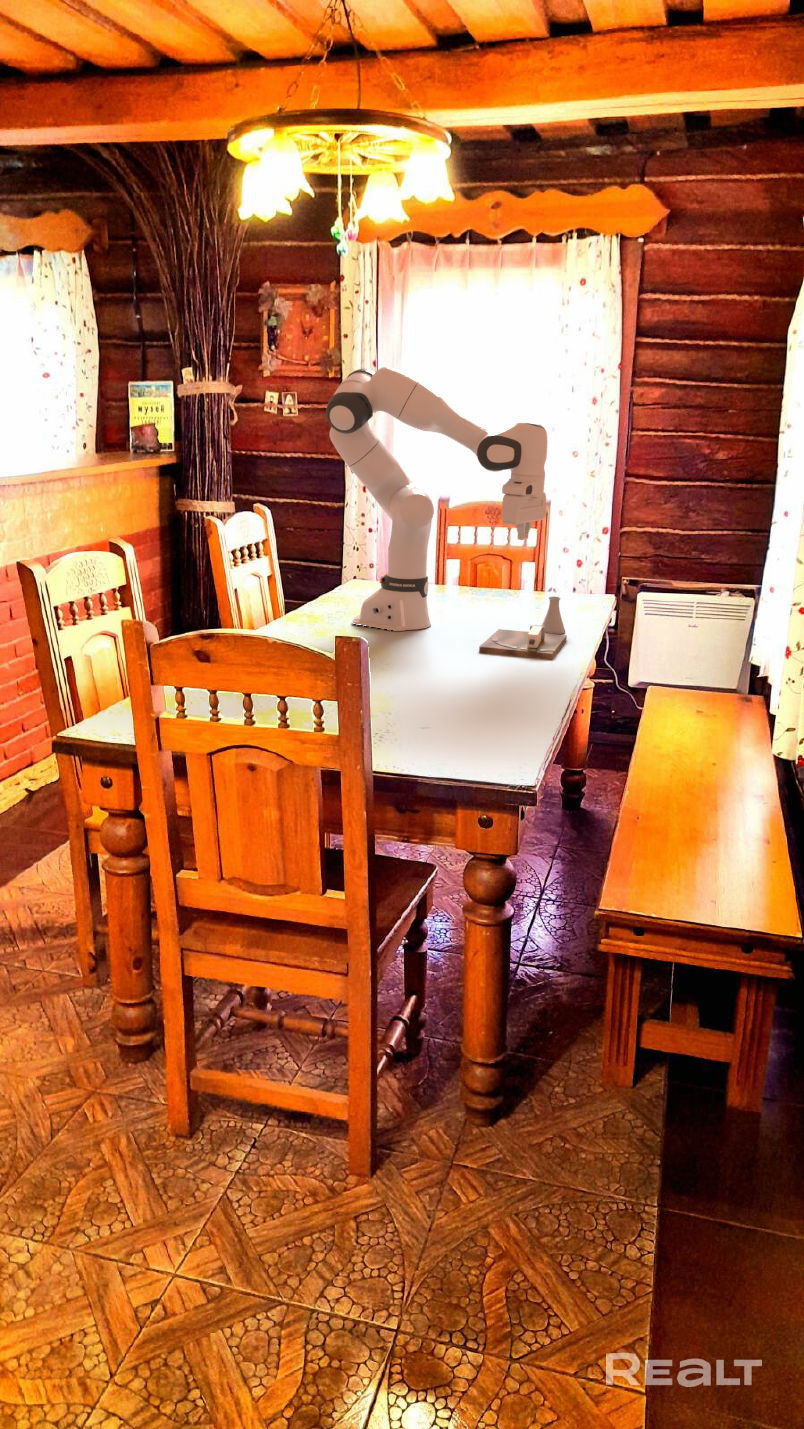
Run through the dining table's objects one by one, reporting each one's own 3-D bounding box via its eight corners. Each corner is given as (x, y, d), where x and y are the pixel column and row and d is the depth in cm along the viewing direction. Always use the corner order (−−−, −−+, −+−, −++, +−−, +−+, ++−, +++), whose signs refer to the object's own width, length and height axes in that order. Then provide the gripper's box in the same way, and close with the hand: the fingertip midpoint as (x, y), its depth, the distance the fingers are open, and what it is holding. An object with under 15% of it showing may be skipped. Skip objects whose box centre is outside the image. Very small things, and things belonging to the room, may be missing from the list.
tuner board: (479, 652, 270) (479, 645, 269) (498, 634, 290) (498, 628, 289) (552, 659, 264) (553, 653, 264) (567, 640, 284) (568, 634, 284)
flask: (564, 635, 290) (567, 600, 287) (538, 634, 291) (540, 599, 288) (565, 630, 297) (568, 595, 294) (540, 628, 298) (542, 594, 295)
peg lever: (530, 637, 280) (531, 624, 279) (545, 638, 279) (546, 625, 278) (523, 648, 267) (524, 635, 266) (538, 650, 266) (539, 636, 265)
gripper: (532, 483, 281) (528, 534, 285) (499, 487, 264) (495, 541, 268) (553, 485, 278) (549, 537, 282) (521, 489, 261) (517, 544, 265)
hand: (522, 539), depth 275 cm, fingers closed
